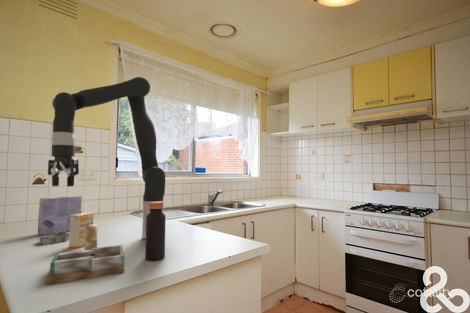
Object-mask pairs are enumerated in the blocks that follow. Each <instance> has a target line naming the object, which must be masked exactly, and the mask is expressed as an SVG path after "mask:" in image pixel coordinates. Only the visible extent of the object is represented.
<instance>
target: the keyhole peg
mask: <svg viewBox="0 0 470 313" xmlns="http://www.w3.org/2000/svg"><path fill="white" fill-rule="evenodd" d="M98 227H99V226H98V224H95V223H93V224H91V225H86V226H85V245H84V250H91V249H93V248H98ZM84 250H83V251H84Z"/></svg>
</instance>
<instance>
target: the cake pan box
mask: <svg viewBox="0 0 470 313" xmlns="http://www.w3.org/2000/svg"><path fill="white" fill-rule="evenodd" d="M82 200H83V197H82V196H81V195H77V196H76V195H75V196H59V197H45V198H44V197H42V198H39V207H38V217H37V218H38V220H37V222H38V223H37V235H39V236H46V235H51V234H52V233H56V232H57V231H60V230H64V231H66V232H70V215H75V214H80V213H82V204H83V203H82V202H83V201H82Z"/></svg>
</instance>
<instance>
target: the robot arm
mask: <svg viewBox="0 0 470 313" xmlns="http://www.w3.org/2000/svg"><path fill="white" fill-rule="evenodd" d="M150 91H151V84H150V82H149V81H148V80H147V79H146V78H144V77H143V76H142V77H141V76H137V77H134V78H131V79H128V80H125V81H123V82H119V83H115V84H110V85H104V86H100V87H93V88H92V87H91V88H87V89H83V90H80V91H78V92H74V93H69V92H65V91H63V92H59V93H57V94H56V95H55V97H54V98H53V99H52V108H53V109H54V118H53V120H52V135H51V157H53V158H54V159H48V162H47V163H48V165H47V175H48V176H50V177H51V185H52V187H58V186H59V185H60V177H59V176H60V174H61V173H62V172H64V173H66V187H73V186H74V185H75V176H77V175H80V169H79V159H78V158H73V157H75V156H76V154H75V152H76V151H75V149H76V148H75V145H76V144H75V143H76V142H75V140H76V139H75V138H76V137H75V116H76V112H77V111H78V110H81V109H85V108H92V107H96V106H100V105H103V104H107V103H111V102H113V101H116V100H119V99H123V98H126V97H127V100H128V105H129V108H130V112H131V118H132V119H131V120H132V123H133V130H134V134H135V135H134V137H135V140H136V144H137V150H138V153H139V157H140V161H141V174H142V177H141V178H142V180H143V182H144V192H143V196H142V199H143V200H142V226H141V228H142V229H141V231H142V232H141V236H142V237H141V239H143V240H146V217H147V215H148V214H149V213H150V210H149V203H150V202H156V201H159V202H163V203H164V196H165V192H166V173H165V170H163V169H162V168H161V167H159V164H158V159H157V135H156V134H157V133H156V130H155V129H156V128H155V125H154V122H153V120H152V118H151V116H150V115H149V112H148V110H147V107H146V100H145V99H146V98H145V97H146V96H148V94H149V93H150ZM162 209H163V210H162V212H163V213H164V207H163V208H162Z"/></svg>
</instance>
